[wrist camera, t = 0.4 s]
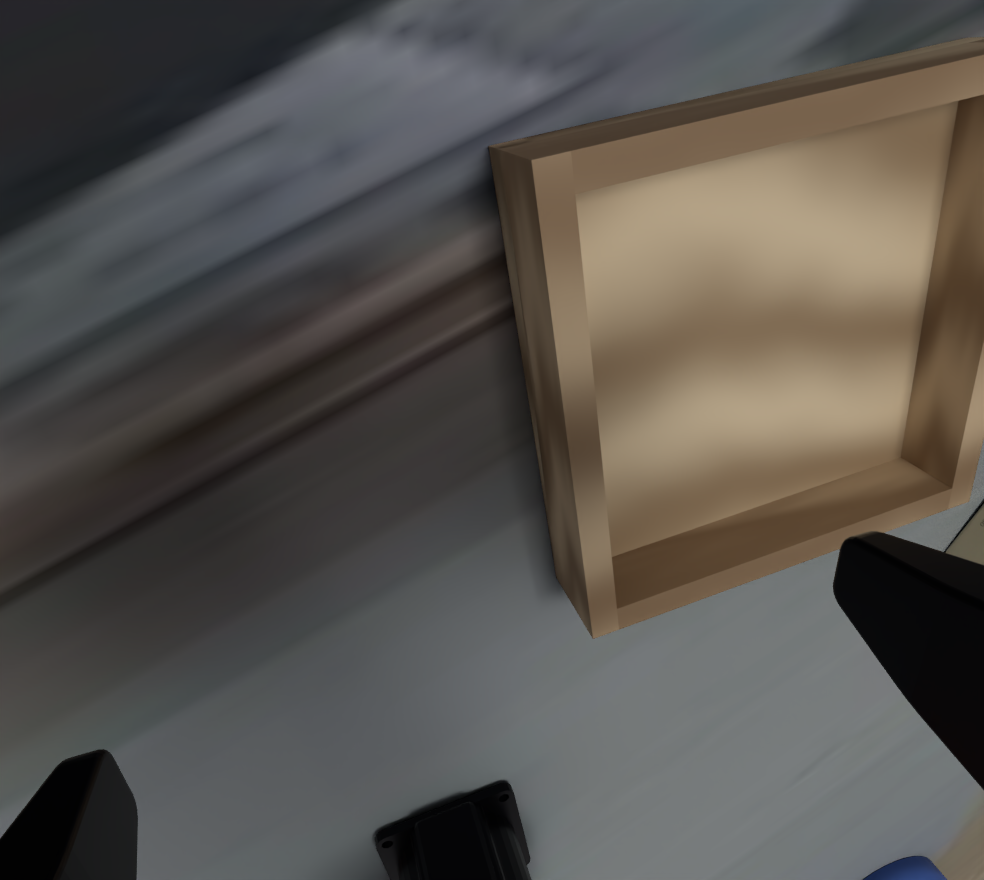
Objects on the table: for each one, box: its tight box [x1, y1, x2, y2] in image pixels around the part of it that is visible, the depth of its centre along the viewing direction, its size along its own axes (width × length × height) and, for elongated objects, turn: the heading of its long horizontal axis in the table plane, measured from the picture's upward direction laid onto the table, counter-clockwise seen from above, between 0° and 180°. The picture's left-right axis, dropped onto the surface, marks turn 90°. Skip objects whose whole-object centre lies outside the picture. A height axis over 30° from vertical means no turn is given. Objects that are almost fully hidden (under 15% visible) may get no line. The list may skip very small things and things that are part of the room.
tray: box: [489, 37, 984, 639], centre depth 23 cm, size 16×16×4 cm
